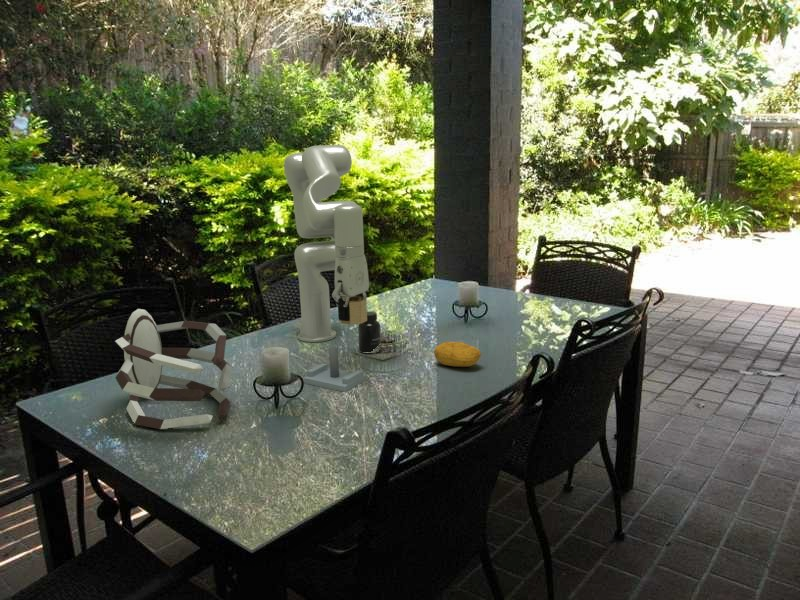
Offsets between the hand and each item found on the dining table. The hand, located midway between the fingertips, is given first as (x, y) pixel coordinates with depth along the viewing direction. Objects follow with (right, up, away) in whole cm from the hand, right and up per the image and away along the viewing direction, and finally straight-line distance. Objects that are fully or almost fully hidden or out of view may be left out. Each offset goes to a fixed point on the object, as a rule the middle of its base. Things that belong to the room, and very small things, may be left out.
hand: (352, 316), depth 177 cm
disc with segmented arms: (-42, -23, -14) cm, 50 cm away
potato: (+29, -15, +11) cm, 35 cm away
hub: (0, -1, 0) cm, 1 cm away
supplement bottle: (+4, -12, +27) cm, 29 cm away
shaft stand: (-5, -18, +2) cm, 19 cm away
